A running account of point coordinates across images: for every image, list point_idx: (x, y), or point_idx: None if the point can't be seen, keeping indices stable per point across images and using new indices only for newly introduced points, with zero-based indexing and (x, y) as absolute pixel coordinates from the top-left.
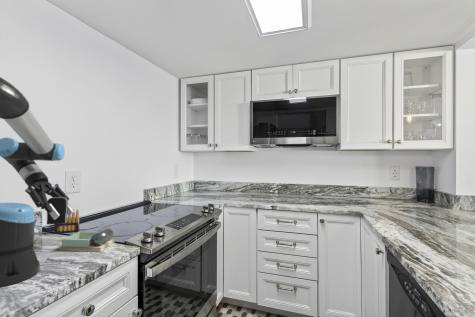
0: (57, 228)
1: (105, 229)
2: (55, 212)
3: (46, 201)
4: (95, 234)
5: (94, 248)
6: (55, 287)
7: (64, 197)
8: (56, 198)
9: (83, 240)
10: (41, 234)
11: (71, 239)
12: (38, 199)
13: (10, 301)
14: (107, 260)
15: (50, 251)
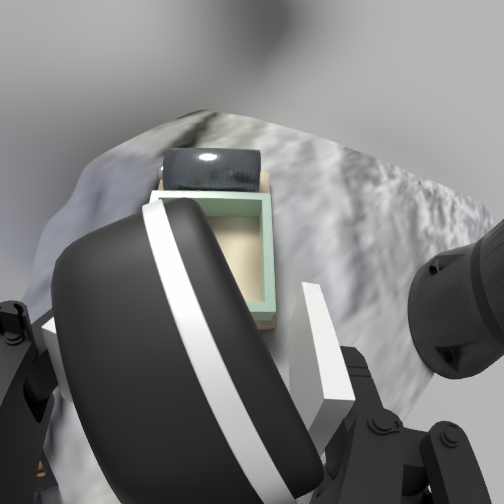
0: (38, 476)
1: (178, 157)
2: (325, 308)
3: (377, 453)
4: (254, 163)
5: (269, 191)
6: (444, 190)
7: (114, 234)
8: (258, 337)
9: (270, 212)
10: None
11: (271, 264)
12: (484, 489)
13: (486, 229)
14: (325, 146)
15: (284, 363)
